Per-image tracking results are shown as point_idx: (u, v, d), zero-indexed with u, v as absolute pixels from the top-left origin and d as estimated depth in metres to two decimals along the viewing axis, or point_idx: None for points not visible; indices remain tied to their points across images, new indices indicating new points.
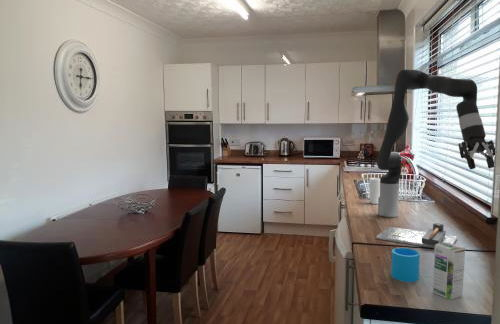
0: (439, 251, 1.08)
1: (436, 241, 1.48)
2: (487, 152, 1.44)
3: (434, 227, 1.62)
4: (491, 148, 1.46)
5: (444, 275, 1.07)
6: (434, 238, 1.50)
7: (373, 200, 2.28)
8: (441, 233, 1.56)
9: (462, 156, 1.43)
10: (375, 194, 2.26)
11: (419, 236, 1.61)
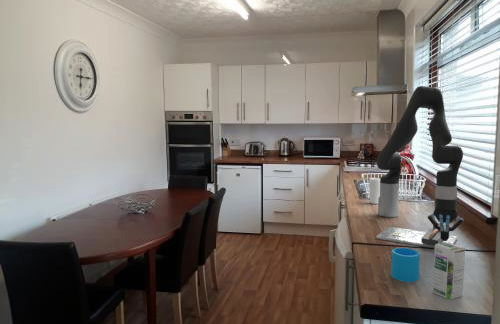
0: (439, 251, 1.08)
1: (436, 241, 1.48)
2: (445, 225, 1.49)
3: (434, 227, 1.62)
4: (455, 224, 1.47)
5: (444, 275, 1.07)
6: (434, 238, 1.50)
7: (373, 200, 2.28)
8: None
9: None
10: (375, 194, 2.26)
11: (419, 236, 1.61)
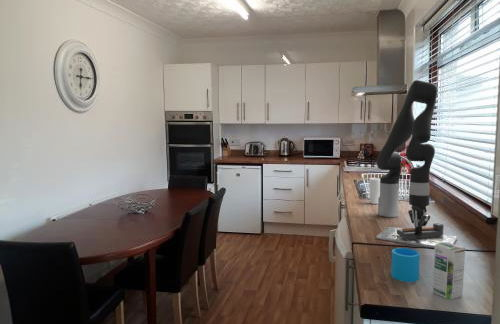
0: (439, 251, 1.08)
1: (404, 234, 1.58)
2: None
3: (433, 226, 1.63)
4: None
5: (444, 275, 1.07)
6: (407, 231, 1.59)
7: (373, 200, 2.28)
8: (428, 231, 1.59)
9: None
10: (375, 194, 2.26)
11: None
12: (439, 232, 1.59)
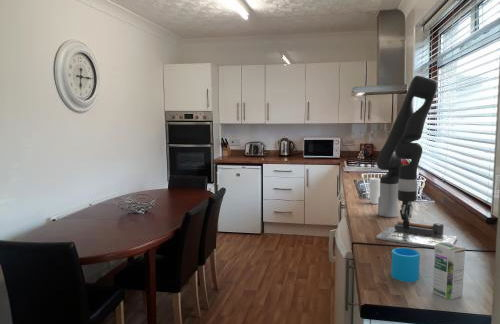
0: (439, 251, 1.08)
1: None
2: None
3: None
4: None
5: (444, 275, 1.07)
6: (401, 224, 1.70)
7: (373, 200, 2.28)
8: (421, 228, 1.64)
9: None
10: (375, 194, 2.26)
11: (419, 236, 1.61)
12: (433, 231, 1.61)
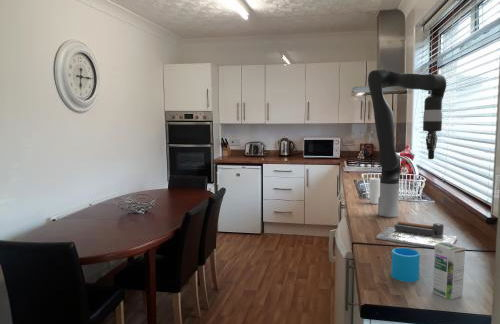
0: (439, 251, 1.08)
1: (395, 225, 1.70)
2: None
3: None
4: None
5: (444, 275, 1.07)
6: (401, 224, 1.70)
7: (373, 200, 2.28)
8: (421, 228, 1.64)
9: None
10: (375, 194, 2.26)
11: (419, 236, 1.61)
12: (433, 231, 1.61)
